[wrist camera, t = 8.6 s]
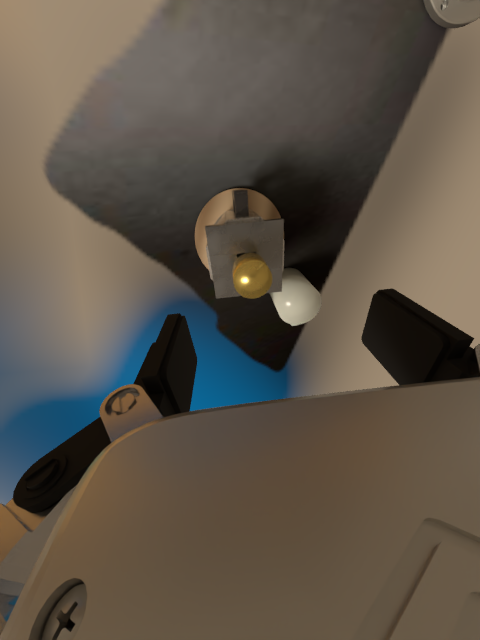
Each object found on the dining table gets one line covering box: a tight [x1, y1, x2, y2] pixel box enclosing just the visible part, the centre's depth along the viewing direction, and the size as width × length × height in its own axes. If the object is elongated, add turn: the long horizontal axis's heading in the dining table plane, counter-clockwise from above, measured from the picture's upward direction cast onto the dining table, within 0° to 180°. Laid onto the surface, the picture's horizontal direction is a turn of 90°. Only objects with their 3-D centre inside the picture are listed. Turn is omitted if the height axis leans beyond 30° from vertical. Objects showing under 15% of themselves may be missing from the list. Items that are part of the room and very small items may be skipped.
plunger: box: [232, 252, 272, 298], centre depth 29 cm, size 8×8×18 cm
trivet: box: [195, 188, 284, 270], centre depth 38 cm, size 16×16×1 cm
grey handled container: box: [205, 189, 284, 298], centre depth 31 cm, size 10×13×13 cm
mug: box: [270, 268, 322, 326], centre depth 40 cm, size 8×9×9 cm
